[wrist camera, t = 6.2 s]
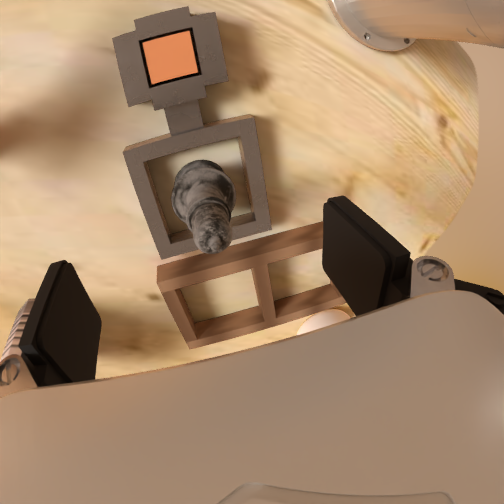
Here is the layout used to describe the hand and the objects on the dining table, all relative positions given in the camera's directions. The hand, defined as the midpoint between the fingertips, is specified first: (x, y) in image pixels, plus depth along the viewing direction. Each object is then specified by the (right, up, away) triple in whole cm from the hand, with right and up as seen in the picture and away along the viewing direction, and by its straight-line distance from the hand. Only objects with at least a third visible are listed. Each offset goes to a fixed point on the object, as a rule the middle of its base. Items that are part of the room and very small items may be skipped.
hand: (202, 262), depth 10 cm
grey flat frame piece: (-4, +11, +16) cm, 20 cm away
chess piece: (-3, +7, +19) cm, 21 cm away
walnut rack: (+3, -3, +28) cm, 28 cm away
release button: (-5, +17, +11) cm, 21 cm away
